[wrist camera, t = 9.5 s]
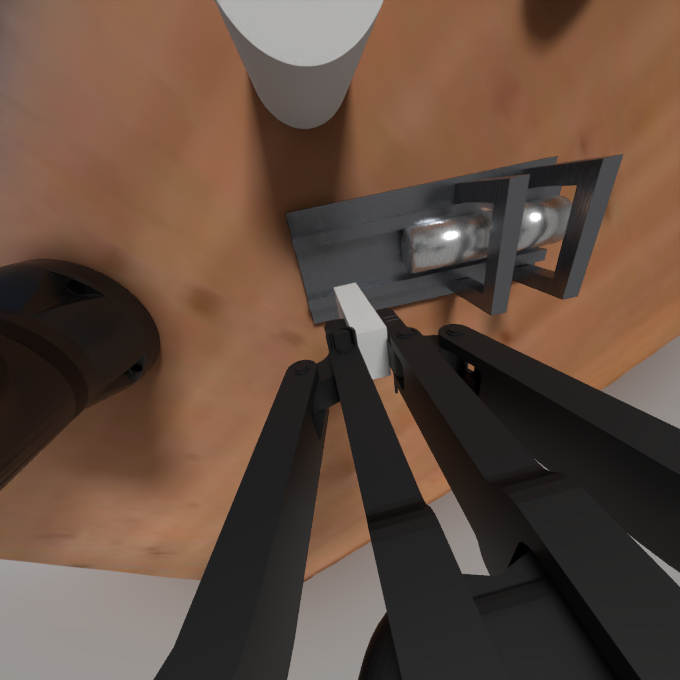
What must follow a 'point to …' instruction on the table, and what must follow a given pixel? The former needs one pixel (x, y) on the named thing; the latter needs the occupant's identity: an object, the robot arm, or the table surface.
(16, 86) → the table surface
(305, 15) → the white cylinder
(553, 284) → the collar rail
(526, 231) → the tube
